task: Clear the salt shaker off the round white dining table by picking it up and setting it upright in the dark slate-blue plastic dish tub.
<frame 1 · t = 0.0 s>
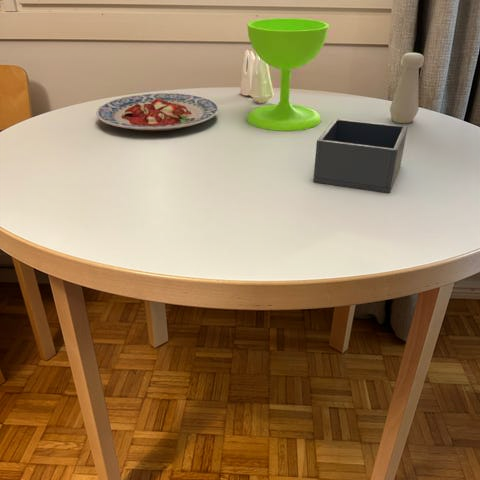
wineglass: (283, 119, 114), on the table
salt shaker: (401, 121, 113), on the table
shaker set: (256, 99, 127), on the table
tub: (358, 173, 89), on the table
ceramic plate: (159, 120, 114), on the table
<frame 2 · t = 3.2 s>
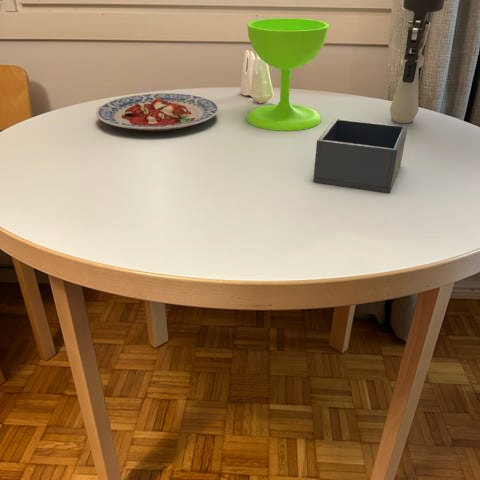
hand: (409, 79, 108), 8 cm above the table, tool pointing down, fingers closed on salt shaker, 4 cm apart
salt shaker: (401, 121, 113), on the table, touching gripper
everything else where it was.
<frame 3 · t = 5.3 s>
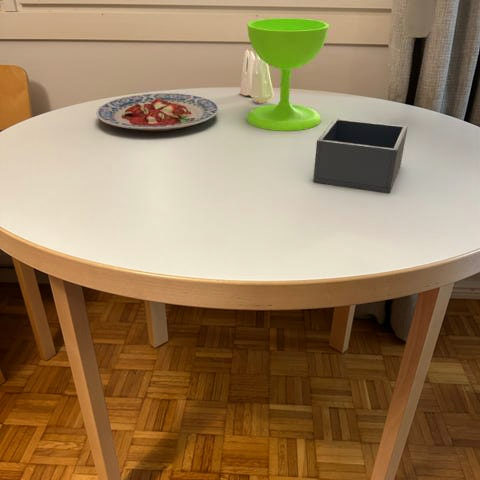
salt shaker: (415, 36, 101), point 16 cm above the table, touching gripper
everything else where it was.
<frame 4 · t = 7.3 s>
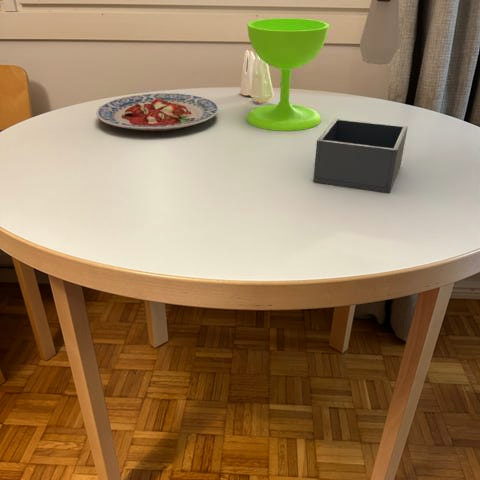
salt shaker: (376, 62, 81), point 17 cm above the table, touching gripper
everything else where it was.
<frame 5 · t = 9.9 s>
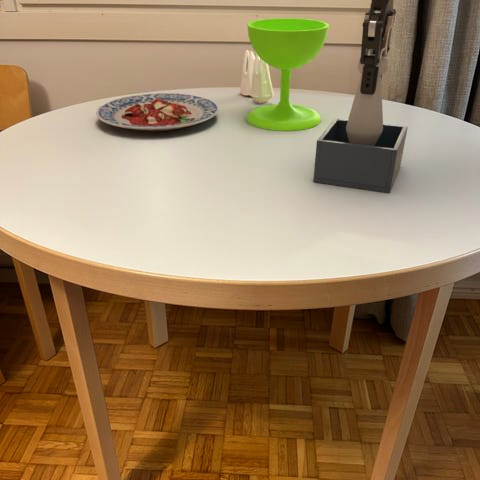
hand: (370, 89, 81), 13 cm above the table, tool pointing down, fingers closed on salt shaker, 4 cm apart
salt shaker: (362, 144, 86), point 5 cm above the table, touching gripper
everything else where it was.
when the fingers open (9 cm above the table, at t = 11.4 s): salt shaker stays where it is, resting on tub.
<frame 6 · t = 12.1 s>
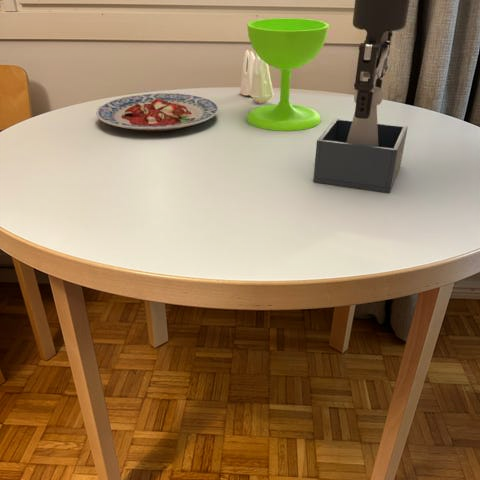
hand: (367, 110, 83), 10 cm above the table, tool pointing down, fingers open, 8 cm apart
salt shaker: (358, 170, 89), point 1 cm above the table, touching tub
everything else where it was.
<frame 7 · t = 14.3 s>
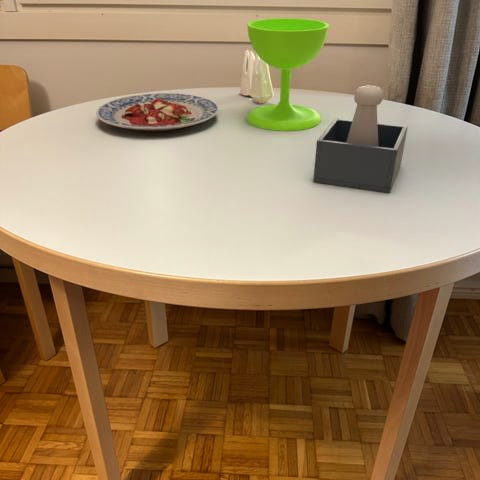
nothing on the table moved.
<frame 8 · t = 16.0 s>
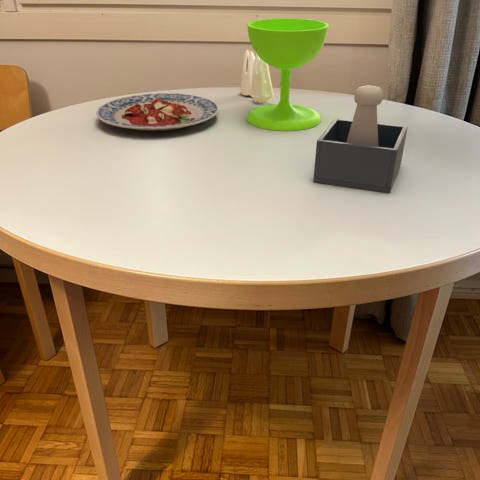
nothing on the table moved.
at the end: salt shaker inside the target area in the tub (0.0 cm from its centre), point 0.6 cm above the tub's base; salt shaker tilted 0°; the gripper is holding nothing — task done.
